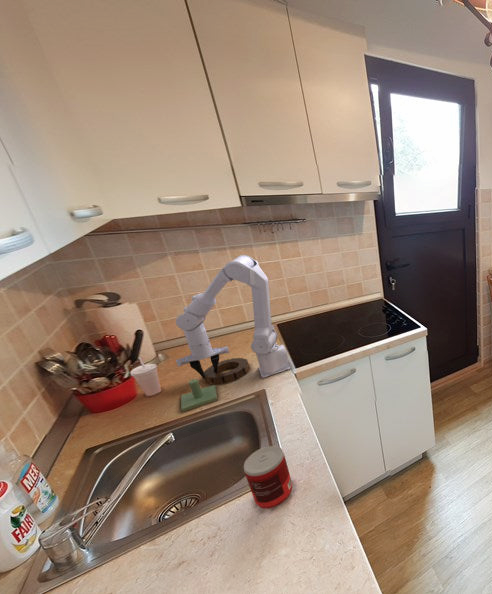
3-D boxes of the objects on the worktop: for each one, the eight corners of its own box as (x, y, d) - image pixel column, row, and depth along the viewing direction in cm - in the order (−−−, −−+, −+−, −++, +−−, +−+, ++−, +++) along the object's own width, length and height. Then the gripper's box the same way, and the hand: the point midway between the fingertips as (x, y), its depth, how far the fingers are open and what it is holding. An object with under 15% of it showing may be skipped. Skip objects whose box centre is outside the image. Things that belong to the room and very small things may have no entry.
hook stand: (215, 387, 116) (209, 370, 113) (217, 400, 109) (211, 382, 107) (182, 398, 110) (175, 380, 108) (182, 412, 104) (174, 393, 101)
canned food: (281, 474, 82) (271, 440, 78) (300, 489, 78) (290, 454, 74) (248, 499, 76) (235, 463, 72) (267, 516, 72) (255, 479, 68)
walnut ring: (246, 360, 132) (245, 354, 131) (251, 374, 123) (250, 368, 122) (205, 372, 124) (203, 366, 123) (207, 388, 115) (205, 382, 114)
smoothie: (150, 399, 110) (134, 363, 105) (135, 397, 111) (119, 361, 106) (171, 388, 115) (156, 353, 110) (156, 385, 117) (142, 351, 112)
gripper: (223, 332, 122) (233, 364, 127) (171, 345, 114) (184, 378, 118) (225, 339, 117) (235, 371, 122) (171, 353, 109) (184, 387, 113)
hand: (210, 375), depth 120 cm, fingers closed on walnut ring, 3 cm apart
